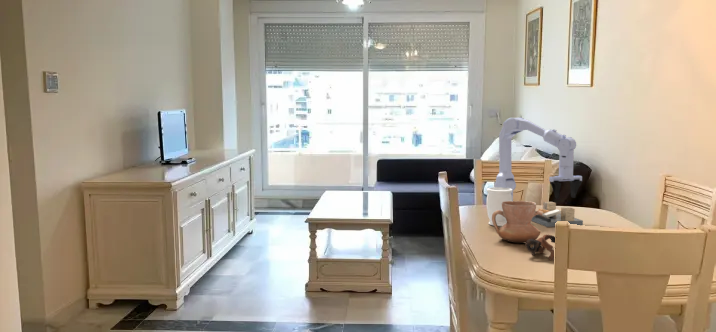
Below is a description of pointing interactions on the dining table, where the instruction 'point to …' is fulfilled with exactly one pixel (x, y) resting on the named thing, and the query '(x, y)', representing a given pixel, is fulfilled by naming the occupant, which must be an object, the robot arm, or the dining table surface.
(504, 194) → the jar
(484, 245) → the dining table surface
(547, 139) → the robot arm
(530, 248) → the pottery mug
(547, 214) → the paddle white
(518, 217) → the ceramic jug
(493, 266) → the dining table surface
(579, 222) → the panel
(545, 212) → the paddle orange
